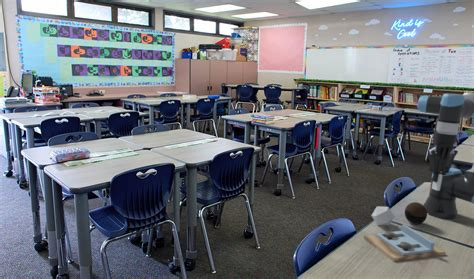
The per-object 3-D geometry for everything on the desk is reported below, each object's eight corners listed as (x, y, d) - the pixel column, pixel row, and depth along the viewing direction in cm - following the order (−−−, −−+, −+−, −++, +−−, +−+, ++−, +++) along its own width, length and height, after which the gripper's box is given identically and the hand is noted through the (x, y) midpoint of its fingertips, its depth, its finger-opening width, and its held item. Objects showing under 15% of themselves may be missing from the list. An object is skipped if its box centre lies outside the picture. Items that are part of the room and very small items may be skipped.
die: (390, 232, 158) (401, 212, 160) (372, 220, 159) (384, 201, 160) (381, 230, 167) (392, 211, 168) (365, 219, 167) (376, 201, 169)
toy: (397, 219, 170) (400, 200, 168) (414, 218, 173) (417, 198, 171) (413, 228, 161) (416, 207, 159) (430, 226, 164) (433, 206, 162)
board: (411, 233, 157) (412, 225, 156) (444, 254, 140) (446, 246, 139) (363, 238, 150) (364, 230, 149) (393, 261, 133) (394, 252, 132)
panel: (403, 232, 154) (404, 224, 153) (433, 251, 139) (434, 242, 138) (375, 235, 150) (377, 227, 149) (403, 255, 135) (404, 246, 134)
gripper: (451, 131, 148) (441, 186, 152) (425, 130, 144) (415, 186, 149) (467, 135, 141) (455, 192, 145) (440, 134, 137) (429, 192, 142)
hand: (435, 189), depth 147 cm, fingers closed
